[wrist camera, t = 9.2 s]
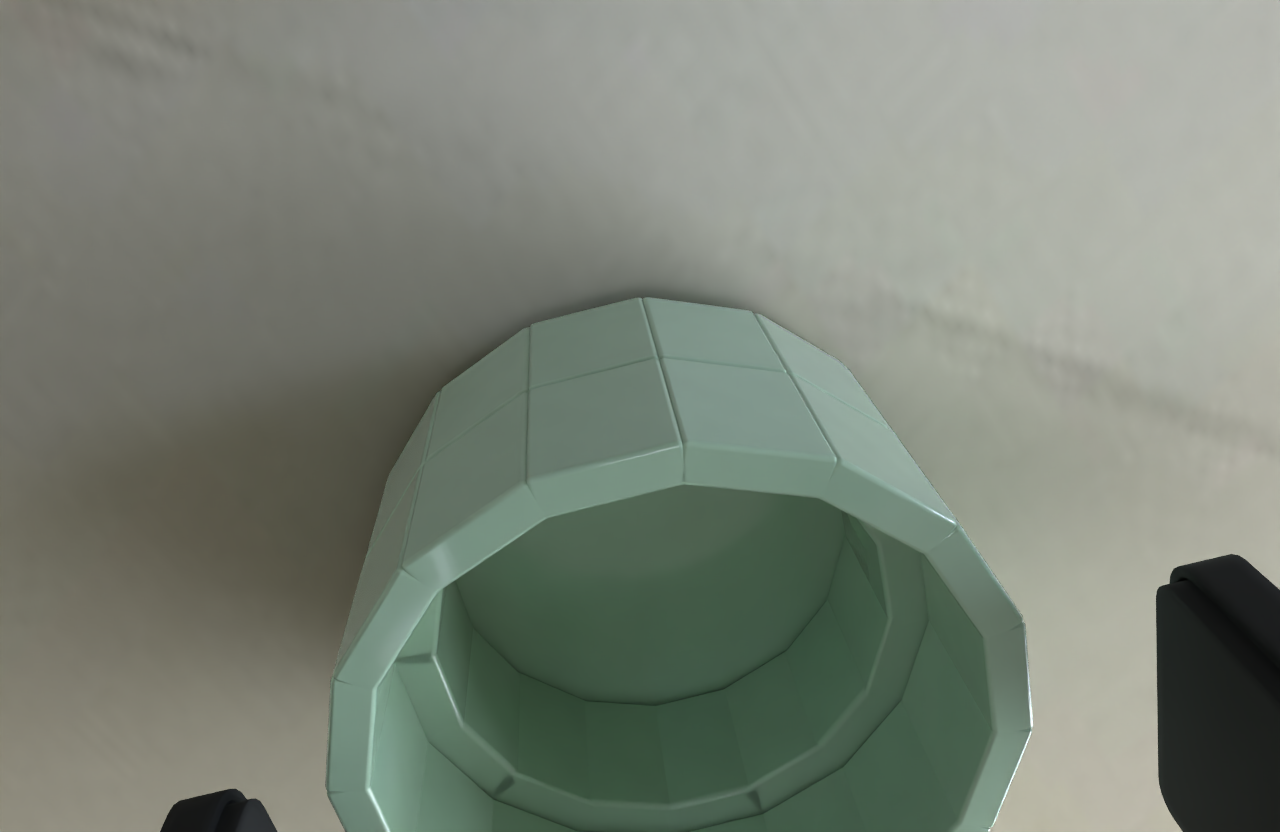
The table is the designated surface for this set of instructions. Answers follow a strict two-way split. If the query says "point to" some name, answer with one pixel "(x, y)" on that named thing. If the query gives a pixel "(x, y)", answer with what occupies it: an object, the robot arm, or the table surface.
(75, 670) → the table surface
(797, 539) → the bowl
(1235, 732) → the robot arm
